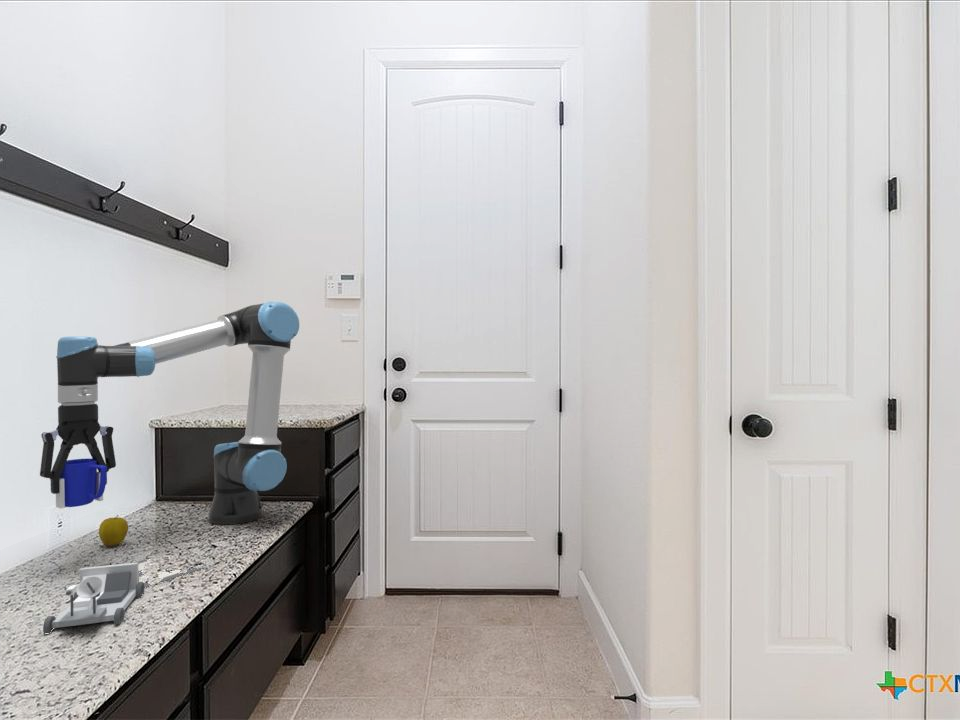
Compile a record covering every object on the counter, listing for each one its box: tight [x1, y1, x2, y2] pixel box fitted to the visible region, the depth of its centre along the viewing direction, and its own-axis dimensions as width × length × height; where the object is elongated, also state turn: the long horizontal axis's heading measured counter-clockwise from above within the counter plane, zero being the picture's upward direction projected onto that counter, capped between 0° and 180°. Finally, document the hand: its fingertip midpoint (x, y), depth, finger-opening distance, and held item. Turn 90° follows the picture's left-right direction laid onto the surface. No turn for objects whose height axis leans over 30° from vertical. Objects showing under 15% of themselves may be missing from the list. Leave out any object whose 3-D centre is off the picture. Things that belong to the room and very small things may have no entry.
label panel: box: [133, 559, 208, 588], centre depth 127 cm, size 16×18×1 cm
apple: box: [98, 514, 129, 547], centre depth 146 cm, size 6×6×8 cm
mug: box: [60, 458, 108, 508], centre depth 130 cm, size 8×12×10 cm
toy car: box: [42, 561, 146, 635], centre depth 105 cm, size 18×10×12 cm
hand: (80, 503), depth 129 cm, fingers closed on mug, 7 cm apart
